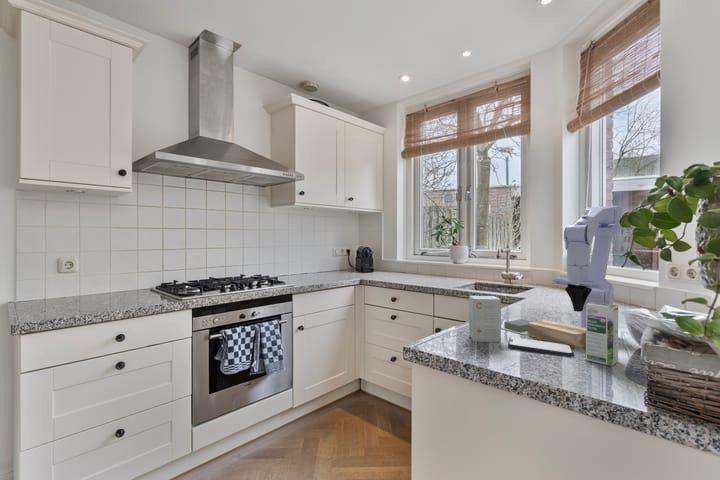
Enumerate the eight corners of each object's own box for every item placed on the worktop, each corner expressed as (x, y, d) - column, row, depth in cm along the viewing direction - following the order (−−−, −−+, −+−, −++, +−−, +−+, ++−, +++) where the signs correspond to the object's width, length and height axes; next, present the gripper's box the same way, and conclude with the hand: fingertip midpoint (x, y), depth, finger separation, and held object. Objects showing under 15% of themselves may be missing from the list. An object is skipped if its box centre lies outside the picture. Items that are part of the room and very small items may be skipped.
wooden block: (547, 331, 113) (547, 319, 113) (595, 343, 100) (595, 330, 100) (527, 335, 109) (527, 322, 109) (575, 348, 96) (575, 334, 96)
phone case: (570, 350, 96) (509, 341, 103) (570, 344, 96) (509, 336, 103) (574, 360, 88) (507, 349, 95) (574, 354, 88) (507, 344, 95)
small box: (494, 336, 107) (494, 295, 107) (501, 342, 101) (501, 299, 101) (468, 336, 108) (468, 295, 108) (473, 342, 102) (473, 298, 102)
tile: (537, 322, 116) (537, 328, 116) (521, 319, 122) (521, 324, 122) (519, 325, 112) (519, 331, 112) (504, 321, 117) (504, 327, 117)
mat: (523, 324, 123) (523, 323, 123) (546, 330, 115) (546, 329, 115) (499, 328, 117) (499, 327, 117) (522, 334, 109) (522, 333, 109)
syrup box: (584, 360, 86) (585, 303, 86) (592, 355, 90) (592, 301, 90) (612, 367, 82) (612, 306, 82) (618, 361, 85) (619, 304, 85)
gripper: (546, 264, 105) (546, 307, 105) (596, 267, 92) (596, 317, 92) (561, 263, 109) (561, 305, 109) (611, 266, 95) (611, 314, 95)
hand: (578, 311), depth 101 cm, fingers closed
